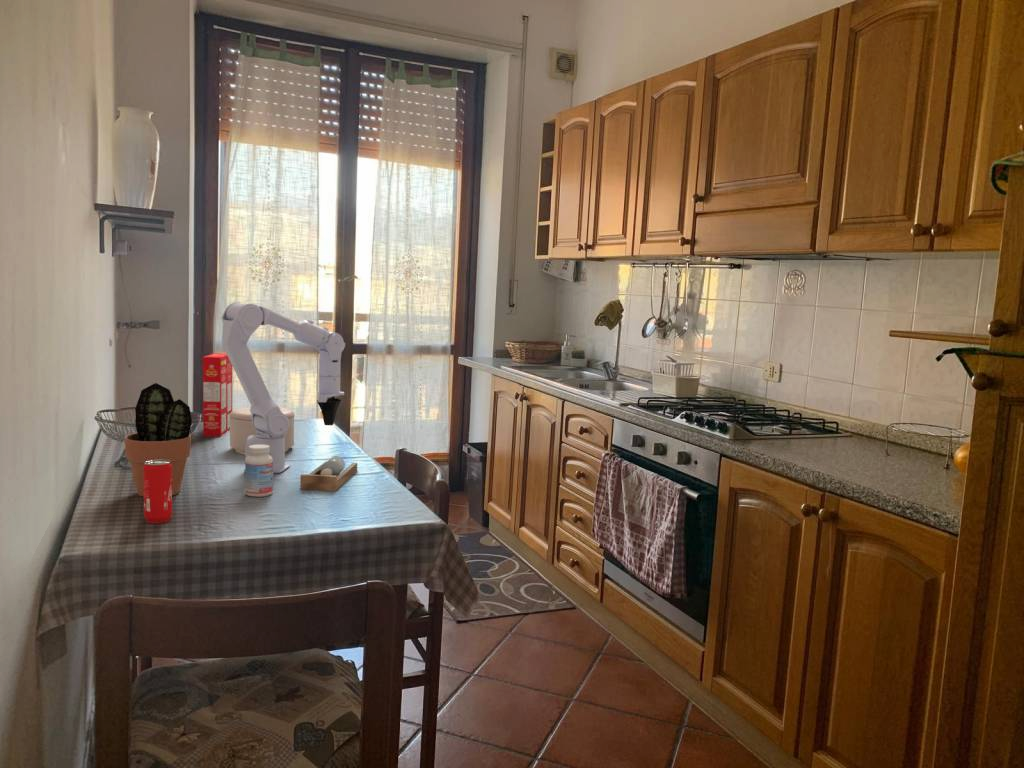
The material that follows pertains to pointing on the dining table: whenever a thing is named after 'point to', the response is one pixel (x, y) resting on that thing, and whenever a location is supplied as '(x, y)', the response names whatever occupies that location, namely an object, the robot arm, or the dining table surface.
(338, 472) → the bottle
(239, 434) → the container
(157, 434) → the potted plant
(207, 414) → the food packaging
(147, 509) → the beverage can
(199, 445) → the dining table surface
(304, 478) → the cradle
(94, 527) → the dining table surface
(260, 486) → the pill bottle
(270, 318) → the robot arm
